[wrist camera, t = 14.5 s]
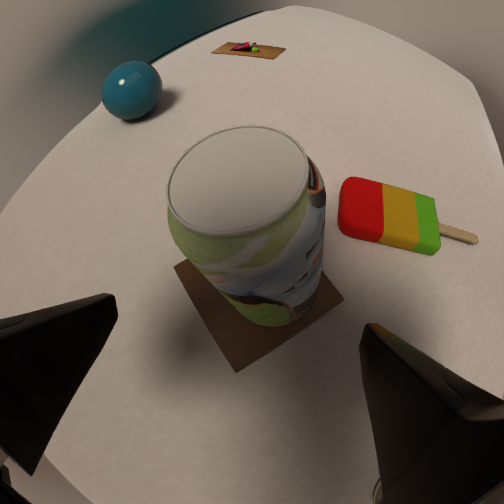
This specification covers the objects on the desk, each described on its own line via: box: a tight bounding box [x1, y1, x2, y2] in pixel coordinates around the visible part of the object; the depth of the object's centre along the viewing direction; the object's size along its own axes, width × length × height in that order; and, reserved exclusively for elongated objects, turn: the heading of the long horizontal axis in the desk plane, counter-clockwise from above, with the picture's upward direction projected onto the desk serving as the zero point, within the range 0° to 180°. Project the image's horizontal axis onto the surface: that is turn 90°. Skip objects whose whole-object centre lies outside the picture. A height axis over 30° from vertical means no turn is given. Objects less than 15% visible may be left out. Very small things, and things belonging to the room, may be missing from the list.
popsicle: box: [338, 177, 479, 255], centre depth 21 cm, size 6×15×2 cm, turn 76°
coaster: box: [174, 259, 344, 373], centre depth 19 cm, size 9×9×1 cm
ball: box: [102, 61, 162, 120], centre depth 27 cm, size 8×8×8 cm
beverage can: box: [166, 125, 326, 327], centre depth 14 cm, size 6×7×12 cm
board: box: [211, 42, 286, 60], centre depth 39 cm, size 6×12×2 cm, turn 65°
